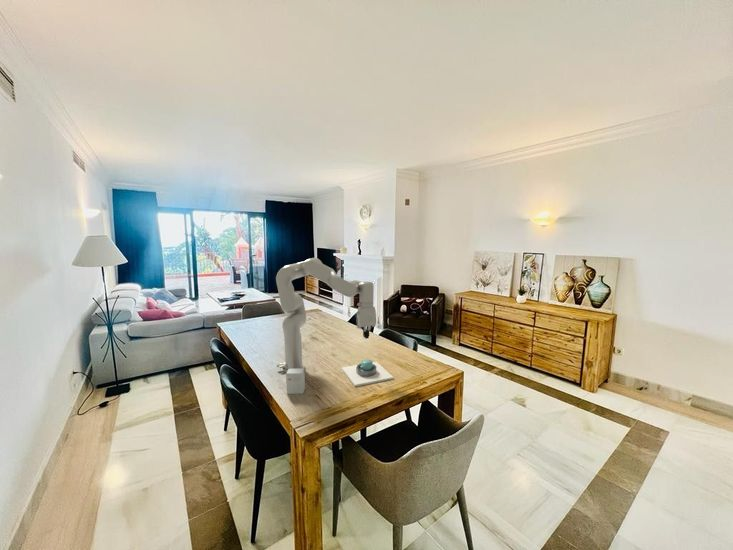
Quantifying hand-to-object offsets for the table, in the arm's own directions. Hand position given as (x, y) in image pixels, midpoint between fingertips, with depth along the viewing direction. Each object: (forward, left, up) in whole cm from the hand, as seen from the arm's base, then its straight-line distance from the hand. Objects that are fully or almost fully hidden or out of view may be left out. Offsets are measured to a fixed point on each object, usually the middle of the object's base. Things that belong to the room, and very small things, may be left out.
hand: (366, 337), depth 162 cm
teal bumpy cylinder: (0, 0, -20) cm, 20 cm away
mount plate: (0, 0, -21) cm, 21 cm away
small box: (-39, -4, -21) cm, 44 cm away
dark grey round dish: (0, 0, -21) cm, 21 cm away
